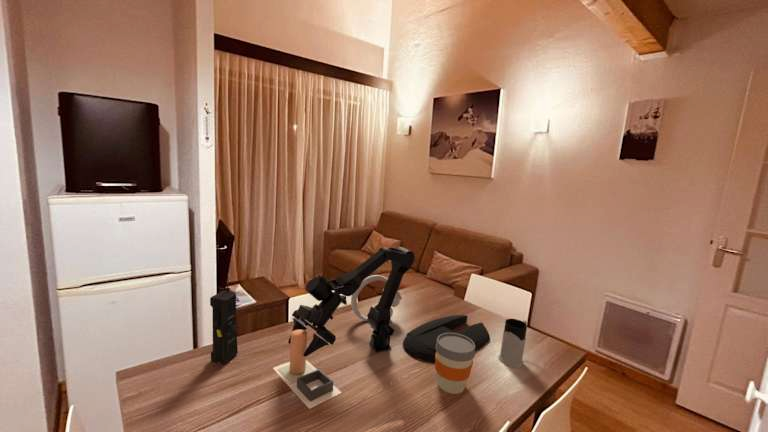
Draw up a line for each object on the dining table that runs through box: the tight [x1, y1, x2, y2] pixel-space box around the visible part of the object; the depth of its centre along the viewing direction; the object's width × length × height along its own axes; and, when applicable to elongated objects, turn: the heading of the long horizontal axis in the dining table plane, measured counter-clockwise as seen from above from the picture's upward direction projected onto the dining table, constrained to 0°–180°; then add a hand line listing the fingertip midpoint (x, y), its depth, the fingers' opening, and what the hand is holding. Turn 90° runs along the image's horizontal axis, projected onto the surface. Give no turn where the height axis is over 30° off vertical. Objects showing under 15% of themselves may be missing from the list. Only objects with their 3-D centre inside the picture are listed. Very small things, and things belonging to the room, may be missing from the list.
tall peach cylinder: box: [289, 330, 308, 375], centre depth 109 cm, size 5×5×13 cm
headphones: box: [350, 274, 403, 322], centre depth 149 cm, size 21×9×22 cm
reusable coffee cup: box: [434, 332, 476, 395], centre depth 110 cm, size 13×13×15 cm
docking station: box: [402, 314, 491, 363], centre depth 139 cm, size 25×40×5 cm, turn 131°
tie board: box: [272, 359, 342, 410], centre depth 106 cm, size 23×11×4 cm, turn 43°
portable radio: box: [209, 284, 239, 365], centre depth 114 cm, size 8×6×25 cm
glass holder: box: [498, 318, 528, 368], centre depth 129 cm, size 9×14×15 cm, turn 135°
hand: (296, 349), depth 108 cm, fingers open, 9 cm apart
